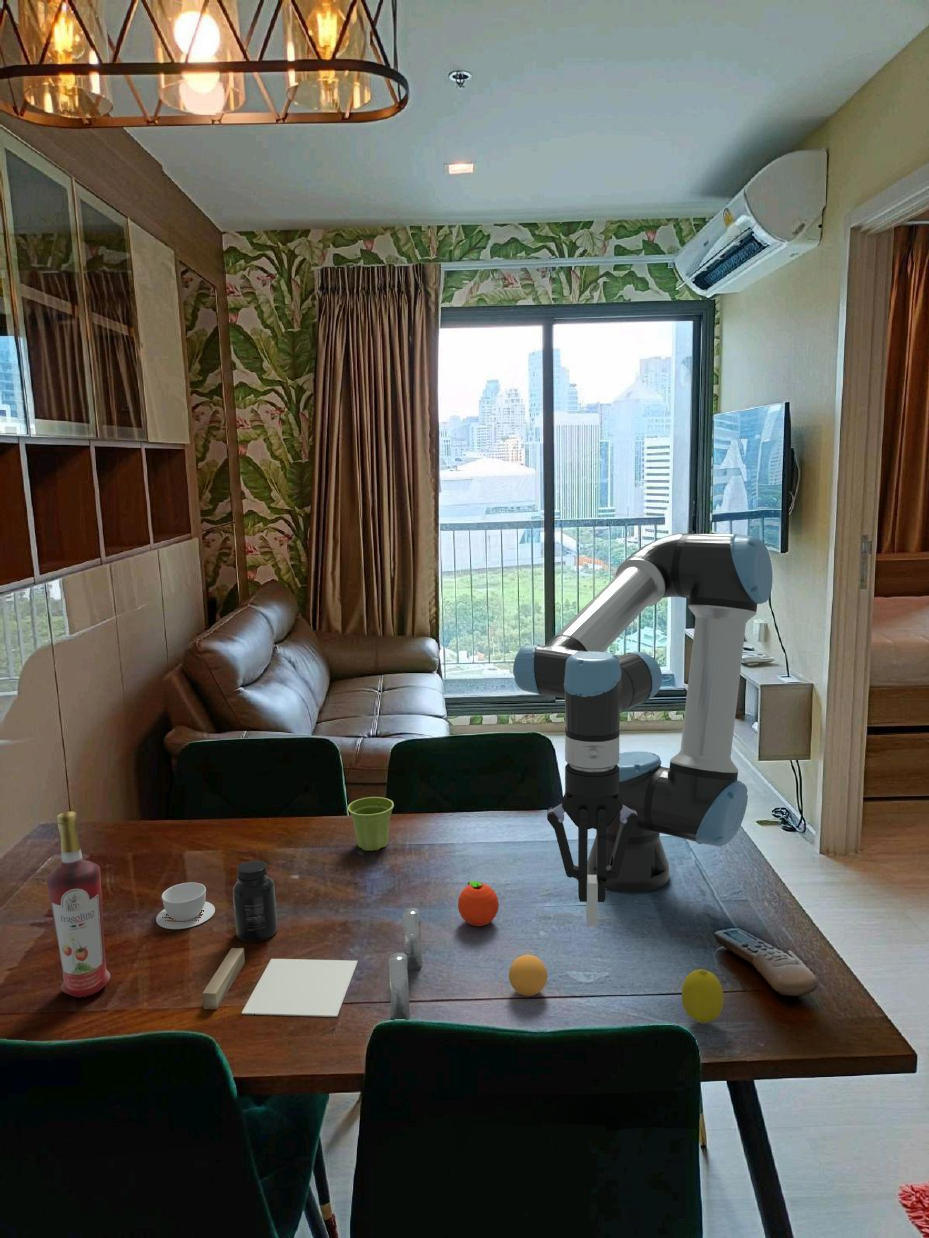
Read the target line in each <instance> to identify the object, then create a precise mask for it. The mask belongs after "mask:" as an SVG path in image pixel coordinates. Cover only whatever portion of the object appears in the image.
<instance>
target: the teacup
mask: <svg viewBox="0 0 929 1238" xmlns="http://www.w3.org/2000/svg"><path fill="white" fill-rule="evenodd" d="M206 894H207V888H206V886H205V885H204V884H202V883H199V882H192V881H191V882H183V883H179V884H178V883H177V884H175V885H172V886H170V887H169V888H167V889H165V890H164V891H163V893H161V901H162V903H163V904H162V905H163V909H162V910H161V911H160V912H159V913H158V914H157V915H156V917H155V922H156V924H157V925H158V926H160V927H161V928H164V929H170V930H181V929H188V928H192V927H196V926H198V925H201V924H203V923H205V922H206V921H209V920H210V919H211V918H212V917H213V916H214V915H215V913H216V907H215V906H214V904H212V903H211V902H209V901H206ZM201 910H204V912H203V911H202V913H201V914H203V915H202V916H200V917H201V918H196V920H197V921H194V920H195V919H194V918H195V917H199V916H198V915H199V913H200V912H201ZM166 914H168V915H169V916H168V915H167V916H166ZM162 917H163V918H162ZM164 917H171V918H173V920H176V921H182V922H171V921H170V922H169V921H167V920H172V919H169V918H164ZM165 920H166V921H165ZM189 920H193V921H189ZM198 920H199V921H198ZM183 921H186V922H183ZM187 921H188V922H187Z"/></svg>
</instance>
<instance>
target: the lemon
mask: <svg viewBox="0 0 929 1238" xmlns="http://www.w3.org/2000/svg"><path fill="white" fill-rule="evenodd" d="M724 999H725V998H724V991H723V987H722V984H721V982H720V979H719V978H718V977H717V976H716V975H715V974H714V973H713V972H712V971H709V970H706V969H704V968H700V969H695V970H692V971H691V972H690V973H688V974H687V975H686V977H685V979H684V981H683V984H682V988H681V1003H682V1007H683V1009H684V1010H685V1012H686V1014H687V1015H688V1016H689V1017H690V1018H691V1019H692V1020H694V1021H695V1022H698V1023H699V1024H701V1025H703V1024H706V1023H707V1024H708V1023H712V1022H713V1021H715V1020H716V1019H717V1018H718V1017H719V1016H720V1015H721V1013H722V1010H723V1008H724Z"/></svg>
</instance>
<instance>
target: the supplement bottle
mask: <svg viewBox="0 0 929 1238" xmlns="http://www.w3.org/2000/svg"><path fill="white" fill-rule="evenodd" d="M267 868H268V867H267V863H266V862H264V861H262V860H250V861H246V862H243V863H241V864H240V865H238V866H237V868H236V869H237V871H236V872H237V876H236V878H237V881H236V883H235V884H234V886H233V888H232V898H233V909H234V921H235V931H236V932H235V933H236V936H237V938H238V939H239V940H241V941H242V942H245V943H260V942H262V941H263V942H264V941H266V940H268V939H270V938H272V937H273V936H274V935H275V934H276V933H277V932H278V931H277V930H278V914H277V902H276V892H275V889H276V888H275V883H274V880H273V879H272V878H271V877H269V876H268V869H267Z"/></svg>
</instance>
